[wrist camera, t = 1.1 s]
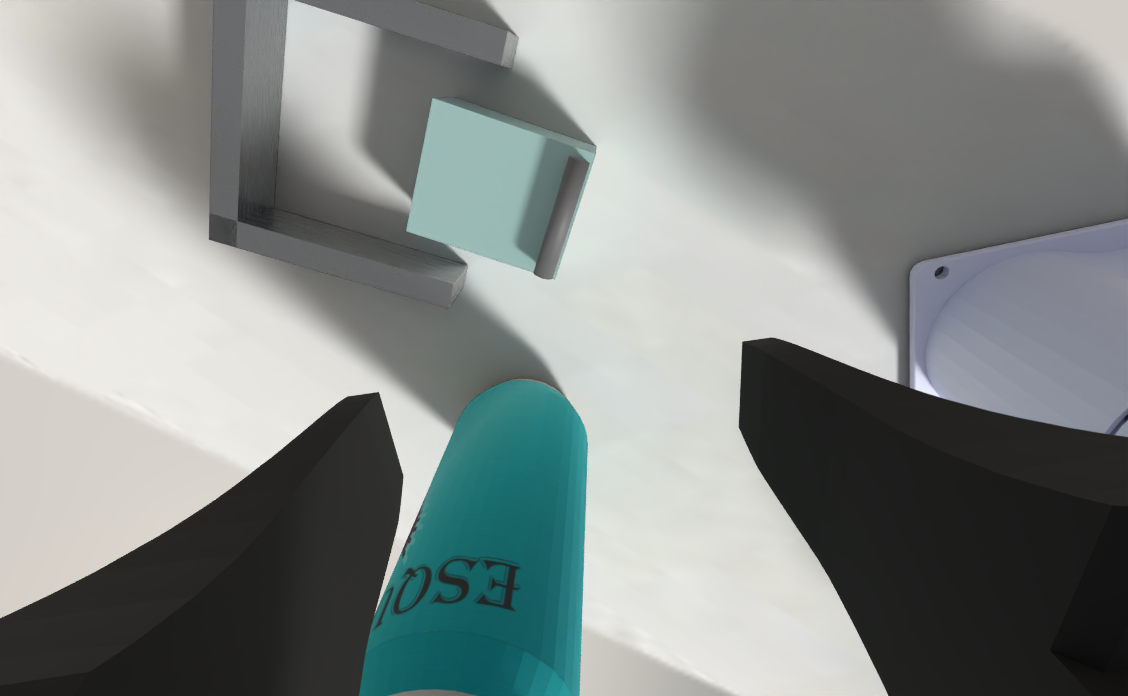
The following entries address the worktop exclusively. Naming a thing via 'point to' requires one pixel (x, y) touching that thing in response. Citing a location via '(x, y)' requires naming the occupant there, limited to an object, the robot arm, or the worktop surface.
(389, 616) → the beverage can
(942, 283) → the robot arm
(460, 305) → the worktop surface
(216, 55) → the bay
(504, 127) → the mint cube with handle
